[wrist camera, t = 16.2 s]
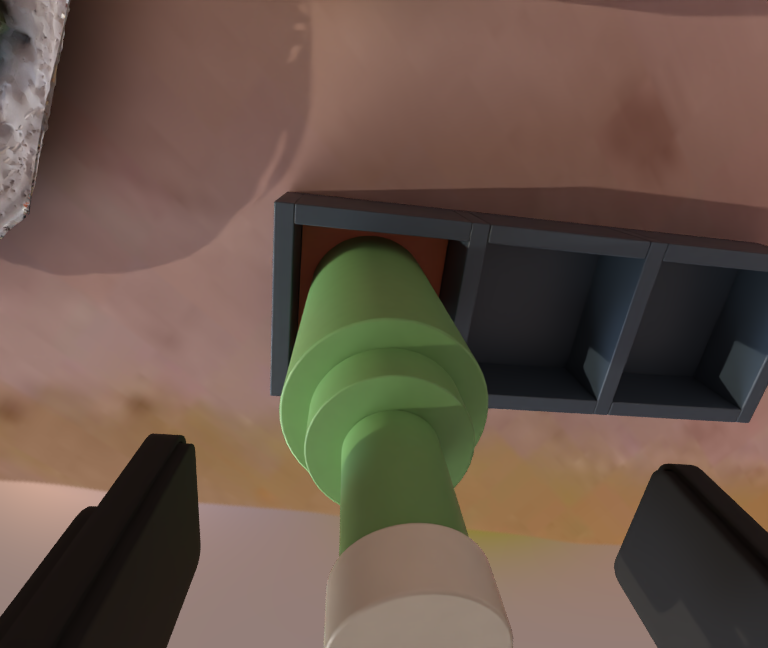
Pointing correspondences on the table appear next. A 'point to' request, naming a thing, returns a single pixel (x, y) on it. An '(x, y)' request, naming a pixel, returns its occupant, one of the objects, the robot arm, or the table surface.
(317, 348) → the bottle
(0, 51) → the food plate
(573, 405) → the tray
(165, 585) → the robot arm
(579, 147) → the table surface
